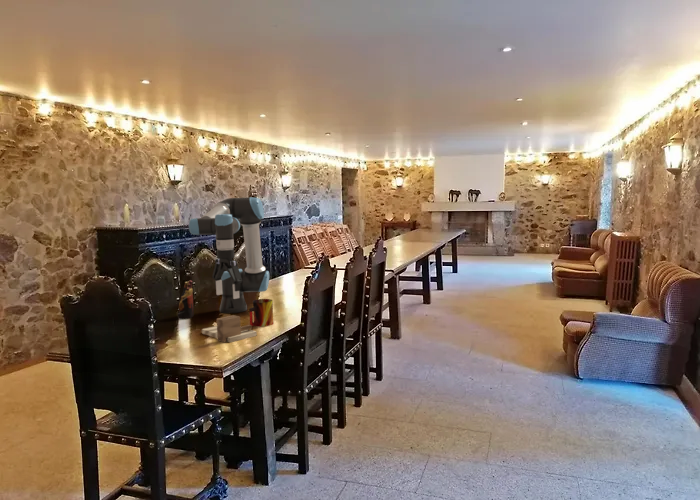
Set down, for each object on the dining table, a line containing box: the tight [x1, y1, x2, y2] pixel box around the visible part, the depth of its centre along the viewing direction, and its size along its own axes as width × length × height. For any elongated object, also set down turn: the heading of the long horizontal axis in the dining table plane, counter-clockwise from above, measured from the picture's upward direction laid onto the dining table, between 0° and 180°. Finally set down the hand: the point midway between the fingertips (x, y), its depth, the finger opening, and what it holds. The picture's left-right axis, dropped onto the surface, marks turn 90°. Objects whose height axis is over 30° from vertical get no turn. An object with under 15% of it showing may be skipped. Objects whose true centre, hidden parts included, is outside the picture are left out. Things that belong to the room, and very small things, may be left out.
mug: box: [248, 298, 274, 328], centre depth 243 cm, size 10×14×12 cm
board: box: [201, 325, 258, 343], centre depth 228 cm, size 24×14×2 cm, turn 46°
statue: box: [177, 279, 195, 320], centre depth 264 cm, size 12×8×20 cm, turn 0°
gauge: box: [216, 314, 253, 343], centre depth 221 cm, size 5×16×10 cm, turn 136°
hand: (227, 296), depth 219 cm, fingers open, 13 cm apart
